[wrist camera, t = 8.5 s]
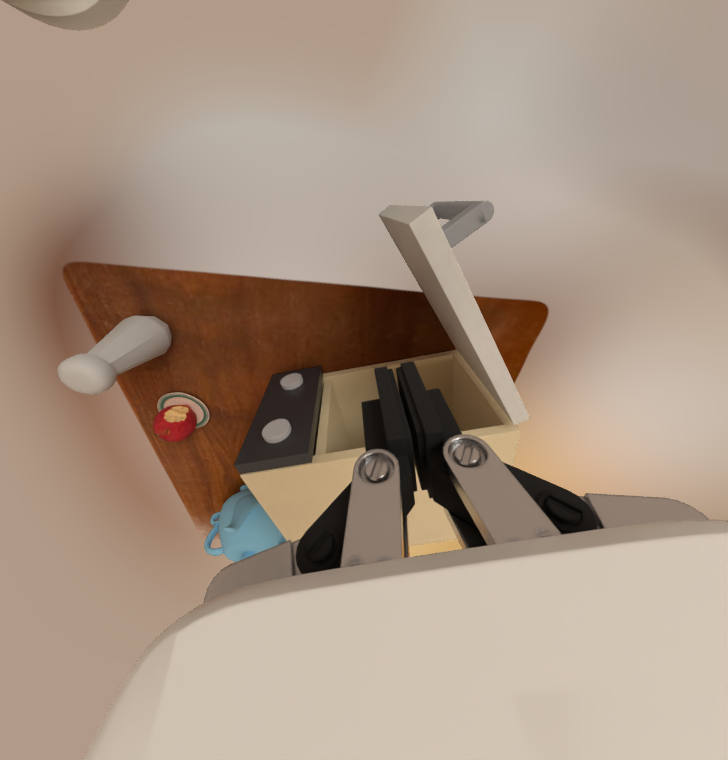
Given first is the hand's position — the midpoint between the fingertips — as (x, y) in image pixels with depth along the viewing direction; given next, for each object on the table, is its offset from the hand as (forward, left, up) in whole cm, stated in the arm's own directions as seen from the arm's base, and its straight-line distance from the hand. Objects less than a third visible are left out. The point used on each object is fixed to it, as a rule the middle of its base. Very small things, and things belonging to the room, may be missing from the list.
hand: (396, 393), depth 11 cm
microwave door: (-2, +10, -27) cm, 29 cm away
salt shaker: (+18, -24, -28) cm, 41 cm away
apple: (+32, -20, -28) cm, 47 cm away
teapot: (+54, -3, -28) cm, 61 cm away
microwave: (+22, +11, -27) cm, 37 cm away
